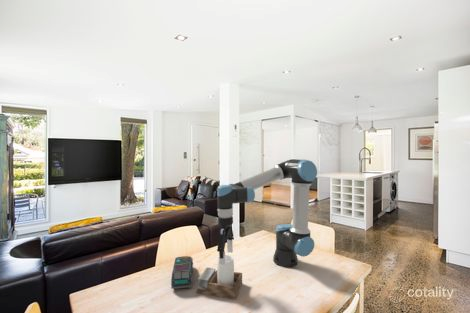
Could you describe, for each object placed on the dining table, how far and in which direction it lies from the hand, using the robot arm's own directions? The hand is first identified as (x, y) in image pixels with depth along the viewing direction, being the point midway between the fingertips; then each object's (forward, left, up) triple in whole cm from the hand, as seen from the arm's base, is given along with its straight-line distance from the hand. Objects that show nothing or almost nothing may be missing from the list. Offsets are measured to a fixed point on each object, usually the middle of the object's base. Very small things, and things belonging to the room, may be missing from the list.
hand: (226, 257), depth 121 cm
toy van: (+26, -4, -16) cm, 31 cm away
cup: (0, +1, -14) cm, 14 cm away
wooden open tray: (+3, 0, -16) cm, 16 cm away
